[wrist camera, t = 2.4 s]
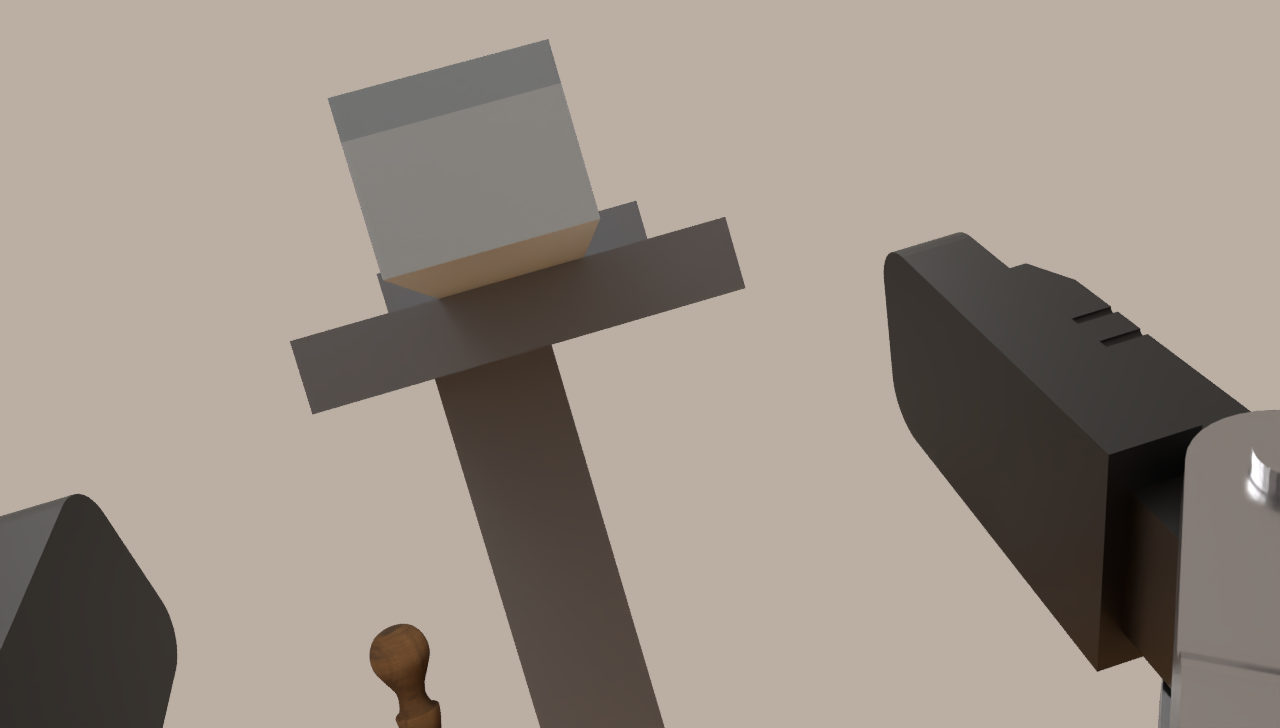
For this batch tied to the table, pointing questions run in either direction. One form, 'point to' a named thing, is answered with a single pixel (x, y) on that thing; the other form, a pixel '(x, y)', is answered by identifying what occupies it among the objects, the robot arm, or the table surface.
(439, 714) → the mortar and pestle
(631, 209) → the grey gallows post
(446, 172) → the grey rectangular box
